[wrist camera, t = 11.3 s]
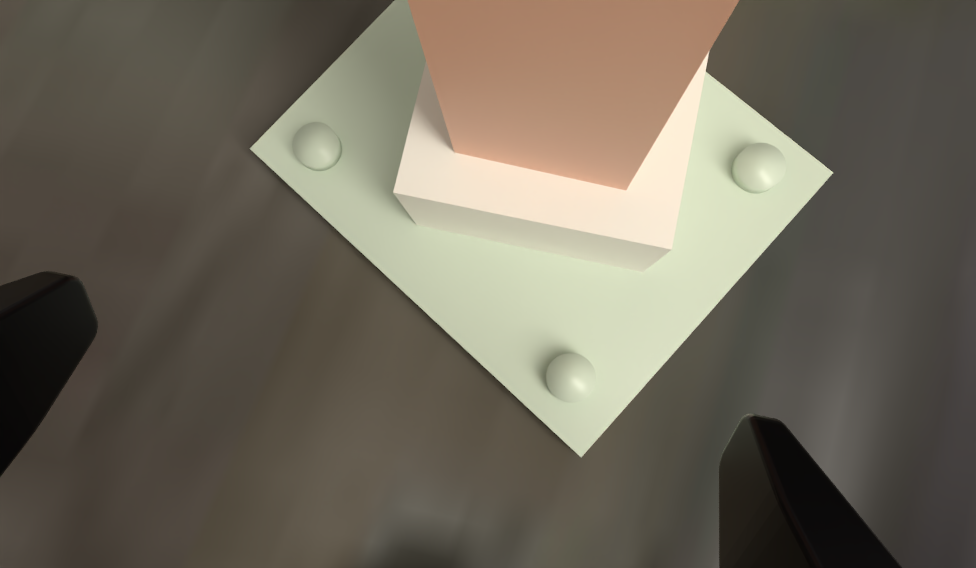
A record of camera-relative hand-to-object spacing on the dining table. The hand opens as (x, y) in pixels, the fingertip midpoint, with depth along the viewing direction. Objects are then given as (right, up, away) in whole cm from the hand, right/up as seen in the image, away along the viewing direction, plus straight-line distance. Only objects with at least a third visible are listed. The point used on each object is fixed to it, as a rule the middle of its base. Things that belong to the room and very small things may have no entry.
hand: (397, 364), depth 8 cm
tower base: (+3, +5, +14) cm, 16 cm away
